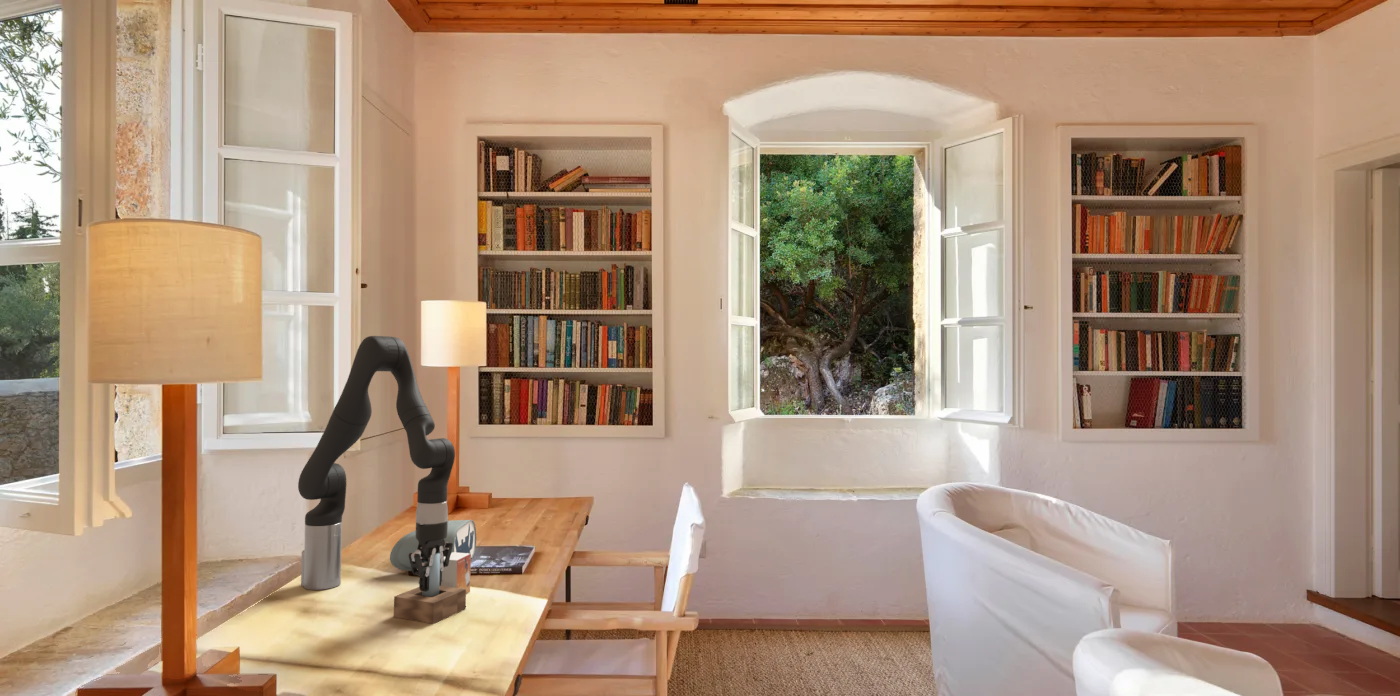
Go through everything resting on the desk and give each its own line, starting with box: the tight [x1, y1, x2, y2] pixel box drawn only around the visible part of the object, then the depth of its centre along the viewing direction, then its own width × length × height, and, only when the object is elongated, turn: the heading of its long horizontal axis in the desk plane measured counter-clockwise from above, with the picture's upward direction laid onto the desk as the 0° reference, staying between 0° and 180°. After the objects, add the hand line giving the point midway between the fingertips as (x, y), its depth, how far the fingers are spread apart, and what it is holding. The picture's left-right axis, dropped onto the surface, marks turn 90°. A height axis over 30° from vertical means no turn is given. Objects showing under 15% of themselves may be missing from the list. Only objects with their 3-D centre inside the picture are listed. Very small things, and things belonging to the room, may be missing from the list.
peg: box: [422, 553, 440, 597], centre depth 199 cm, size 4×4×12 cm
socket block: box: [393, 586, 467, 625], centre depth 199 cm, size 12×12×5 cm
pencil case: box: [389, 519, 477, 572], centre depth 242 cm, size 22×19×13 cm
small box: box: [441, 552, 472, 595], centre depth 213 cm, size 8×6×10 cm
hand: (430, 588), depth 199 cm, fingers closed on peg, 4 cm apart
